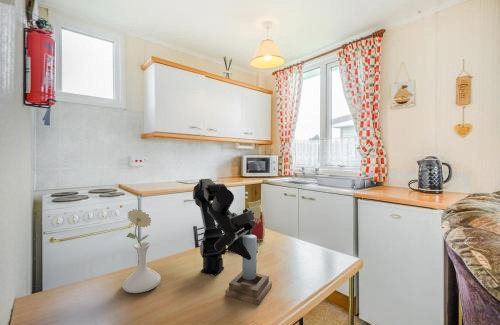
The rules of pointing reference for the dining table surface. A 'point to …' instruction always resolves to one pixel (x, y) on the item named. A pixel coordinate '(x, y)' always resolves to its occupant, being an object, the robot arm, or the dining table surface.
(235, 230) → the robot arm
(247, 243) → the blue-gray capsule
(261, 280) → the socket base
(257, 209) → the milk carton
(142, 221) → the flower in vase
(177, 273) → the dining table surface
